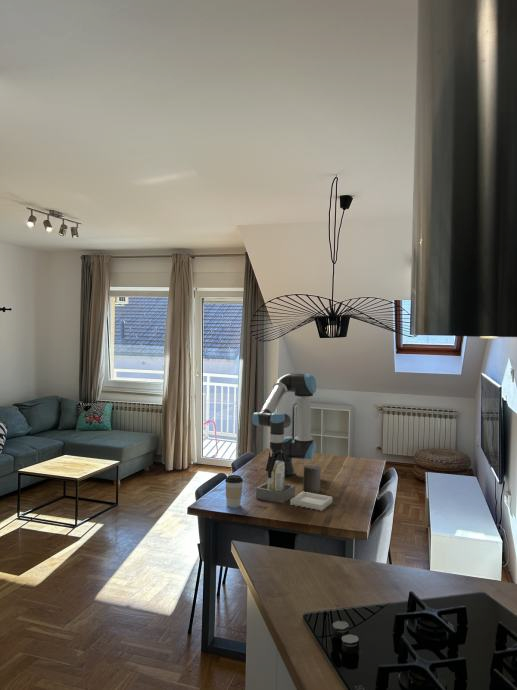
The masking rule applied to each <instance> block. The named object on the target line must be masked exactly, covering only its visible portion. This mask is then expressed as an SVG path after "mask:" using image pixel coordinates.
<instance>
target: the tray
mask: <svg viewBox="0 0 517 690" xmlns="http://www.w3.org/2000/svg"><path fill="white" fill-rule="evenodd" d="M289 500H290V501H289V505H290V506H292V505H295V506H294V507H297V506H301V507H300V508H302V507H306V508H305V509H307V508H311V509H310V510H312V509H316V510H315V511H317V510H320V511H319V512H322V511H323V510H325V509H326V508H328V507H329V506H330V505H331V504H332V503H333V496H329V495H324V494H319V493H309V492H305V491H301V492H300V493H298V494H295V496H294V497H292V498H290V499H289Z"/></svg>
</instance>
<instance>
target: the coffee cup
mask: <svg viewBox="0 0 517 690" xmlns="http://www.w3.org/2000/svg"><path fill="white" fill-rule="evenodd" d="M224 479H225V480H224V481H225V498H226V506H227V507H228V506H229V507H228V508H239V507H241V499H242V494H243V493H242V492H243V483H244V478H243V477H242V476H241V475H238V474H230V475H227V477H225V478H224Z"/></svg>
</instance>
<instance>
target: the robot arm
mask: <svg viewBox="0 0 517 690" xmlns="http://www.w3.org/2000/svg"><path fill="white" fill-rule="evenodd" d="M316 391H317V381H316V378H315V376H314V375H313V374H310V373H291V372H290V373H286V374H283V375H282V376H280V377H278V379H276V381H275V382H274V383H273V386H272V390H271V392H270V393H269V395H268V397H267V399H266V401H265V402H264V404H263V406H262V407H261V409H260V411H257V412H256V411H255V412H253V414H252V416H251V422H252V424H253V425H254V426H259V427H269V432H270V433H269V449H270V450H272V451H271V452H270V451H269V452H268V458H267V462H266V465H265V466H266V468H265V472H267V482H268V484H273V472H272V470H273V468H274V465H275V462H276V461H283V462H284V466H285V471H284V477H290V475H291V476H293V474H294V475H295V467H294V465H293V459H297V460H304V461H307V460H308V461H311V460H313V459H314V457H315V455H316V454H315V453H316V450H317V443H316V441H314V438H313V437H312V434H311V432H312V431H311V427H312V426H311V425H312V423H311V420H312V419H311V416H312V415H311V414H312V412H311V406H312V405H311V404H312V402H311V400H312V399H311V398H312V397H314V394H315V393H316ZM290 392H291V393H294V397H295V398H296V436H295V437H294V438H293V436H290V435H289V436H288V435H287V436H286V435H285V429H287V428H289V427H290V426H291V425H292V424H293V417H292V416H291V415H290V414H289V413H283V412H275V411H276V410H277V408H278V407H279V404H280V402H281V401H282V399H283V397H284V396H285V395H286V394H287V393H290Z"/></svg>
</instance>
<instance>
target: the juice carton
mask: <svg viewBox="0 0 517 690" xmlns="http://www.w3.org/2000/svg"><path fill="white" fill-rule="evenodd" d="M284 471H285V466H284V462H283V461H276V462H275V465H274V468H273V470H272V472H273V484H268V488H267V489H269V490H274V491H280V492H283V491H284V484H285V476H284Z"/></svg>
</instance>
